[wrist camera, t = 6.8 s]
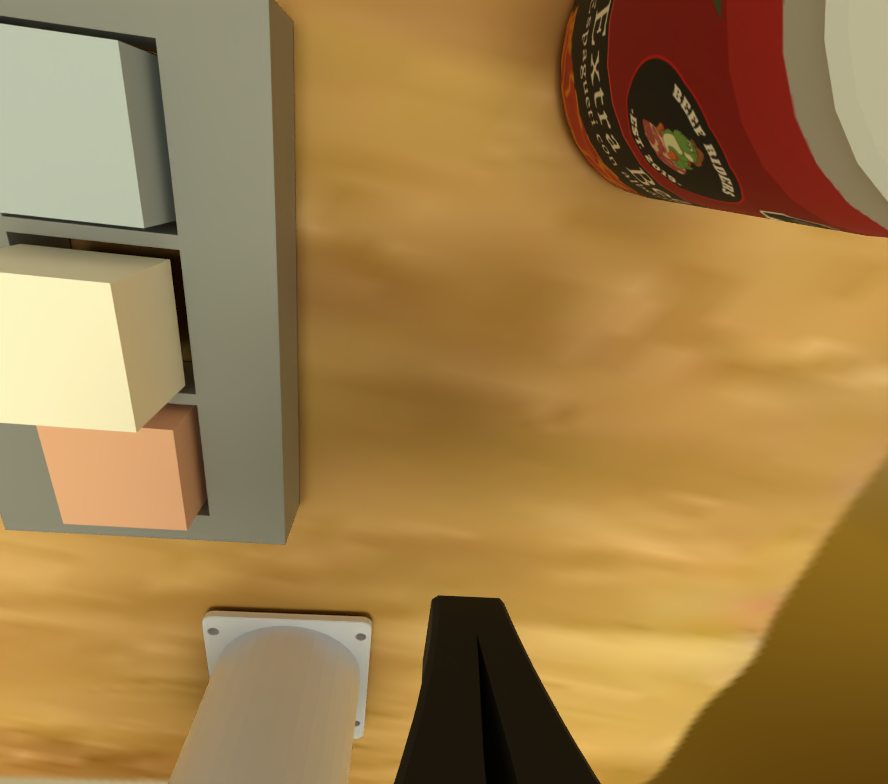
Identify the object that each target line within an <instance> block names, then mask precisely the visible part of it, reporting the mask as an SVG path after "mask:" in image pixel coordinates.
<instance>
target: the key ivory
mask: <svg viewBox="0 0 888 784" xmlns="http://www.w3.org/2000/svg"><path fill="white" fill-rule="evenodd" d="M184 386H185V378H184V370H183V362H182V354H181V345H180V337H179V329H178V321H177V313H176V305H175V297H174V288H173V280H172V272H171V264H170V259H161V258H151V257H142V256H132V255H122V254H113V253H103V252H94V251H84V250H75V249H65V248H56V247H46V246H36V245H27V244H17V245H12V246H8V247H3V248H0V423H11V424H25V425H39V426H52V427H66V428H80V429H94V430H108V431H122V432H135V433H137V432H138V431H139V430H140V429H141V428H142V427H143V426H144V425H145V424H146V423H147V422H148V421H149V420H150V419H151V418H152V417H153V416H154V415H155V414H156V413H157V412H158V411H159V410H160V409H161V408H163V407H164V406H165V405H166V404H167V403H168V402H169V401H170V400H171V399H172V398H173V397H174V396H175V395H176V394H177V393H178V392H179V391H180V390H181V389H182V388H183V387H184Z"/></svg>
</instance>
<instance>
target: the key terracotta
mask: <svg viewBox="0 0 888 784" xmlns="http://www.w3.org/2000/svg"><path fill="white" fill-rule="evenodd" d="M36 427H37V431H38V434H39V438H40V442H41V445H42V449H43V452H44V456H45V460H46V463H47V467H48V470H49V474H50V478H51V481H52V485H53V488H54V492H55V495H56V499H57V503H58V506H59V510H60V513H61V517H62V521H63V524H77V525H95V526H113V527H131V528H150V529H168V530H186V531H187V530H188V528H189V527H190V525H191V523H192V522H193V520H194V519H195V517H196V515H197V514H198V512H199V511H200V509H201V507H202V506H203V504H204V503H205V501H206V499H207V498H208V496H207V487H206V478H205V469H204V461H203V452H202V443H201V434H200V425H199V416H198V408H197V405H185V404H172V403H167V404H166V405H165V406H164V407H163V408H161V409H160V410H159V411H158V412H157V413H156V414H155V415H154V416H153V417H152V418H151V419H150V420H149V421H148V422H147V423H146V424H145V425H144V426H143V427H142V428H141V429H140V430H139V431H138V432H137V433H135V432H122V431H108V430H94V429H80V428H66V427H52V426H39V425H36Z"/></svg>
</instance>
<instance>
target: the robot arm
mask: <svg viewBox="0 0 888 784" xmlns="http://www.w3.org/2000/svg"><path fill="white" fill-rule="evenodd" d="M202 628H203V635H204V642H205V650H206V657H207V664H208V671H209V678H210V680H209V683H208V685H207V688H206V690H205V693H204V695H203V698H202V700H201V703H200V705H199V708H198V710H197V713H196V715H195V718H194V720H193V723H192V725H191V728H190V730H189V733H188V735H187V738H186V740H185V743H184V745H183V748H182V750H181V753H180V755H179V758H178V760H177V763H176V765H175V767H174V770H173V772H172V775H171V777H170V780H169V782H168V784H348V781H349V772H350V763H351V754H352V745H353V739H358V738H361V737H362V736H363V734H364V725H365V712H366V699H367V686H368V673H369V659H370V646H371V633H372V621H371V620H370V619H369V618H367V617H361V616H336V615H311V614H287V613H262V612H237V611H209V612H207V613H206V614H205V616H204V618H203V620H202ZM361 633H362V634H361ZM394 784H601V783H600V782H599V780H598V779H597V777H596V775H595V774H594V772H593V770H592V769H591V767H590V766H589V764H588V762H587V761H586V759H585V757H584V756H583V754H582V753H581V751H580V749H579V748H578V746H577V744H576V743H575V741H574V739H573V738H572V736H571V734H570V732H569V731H568V729H567V727H566V726H565V724H564V722H563V720H562V718H561V717H560V715H559V713H558V711H557V709H556V708H555V706H554V704H553V702H552V700H551V699H550V697H549V695H548V693H547V691H546V690H545V688H544V686H543V684H542V682H541V680H540V678H539V676H538V674H537V673H536V671H535V669H534V667H533V665H532V663H531V661H530V659H529V657H528V655H527V653H526V651H525V649H524V647H523V645H522V642H521V640H520V638H519V636H518V634H517V632H516V630H515V628H514V625H513V623H512V621H511V619H510V616H509V614H508V612H507V609H506V607H505V605H504V603H503V602H502V600H501V599H500V598H482V597H460V596H437V597H435V598H433V599H432V602H431V609H430V616H429V622H428V629H427V636H426V643H425V650H424V656H423V670H422V685H421V689H420V694H419V698H418V703H417V707H416V711H415V714H414V718H413V722H412V725H411V729H410V732H409V735H408V739H407V742H406V746H405V749H404V753H403V756H402V759H401V763H400V766H399V769H398V773H397V776H396V779H395V782H394Z"/></svg>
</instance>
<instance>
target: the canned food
mask: <svg viewBox="0 0 888 784" xmlns="http://www.w3.org/2000/svg"><path fill="white" fill-rule="evenodd" d="M561 92H562V98H563V104H564V110H565V115H566V119H567V122H568V124H569V127H570V130H571V132H572V135H573V137H574V140H575V142H576V144H577V146H578V147H579V149H580V150H581V152H582V153H583V155H584V156H585V158H586V159H587V161H588V163H589V164H590V165H591V166H592V167H594V168H595V169H596V170H597V171H598V172H599V173H600V174H601V175H602V176H603V177H604V178H605V179H606V180H608V181H610V182H611V183H613V184H615V185H616V186H618V187H620V188H621V189H623V190H625V191H627V192H631V193H634V194H637V195H640V196H644V197H647V198H653V199H658V200H664V201H670V202H676V203H681V204H687V205H693V206H699V207H704V208H710V209H716V210H722V211H727V212H733V213H739V214H745V215H750V216H756V217H762V218H768V219H774V220H779V221H785V222H791V223H797V224H802V225H808V226H814V227H820V228H825V229H831V230H837V231H843V232H848V233H854V234H860V235H866V236H877V237H887V238H888V0H576V1H575V4H574V7H573V9H572V12H571V15H570V18H569V21H568V24H567V28H566V34H565V40H564V45H563V51H562V56H561Z"/></svg>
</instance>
